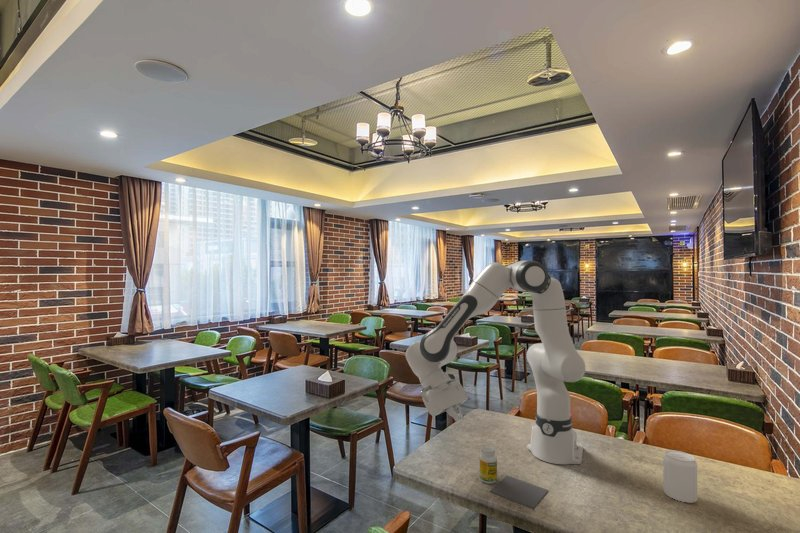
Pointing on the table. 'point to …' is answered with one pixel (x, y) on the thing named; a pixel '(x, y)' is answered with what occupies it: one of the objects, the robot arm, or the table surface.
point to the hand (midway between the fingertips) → (460, 419)
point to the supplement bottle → (488, 465)
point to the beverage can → (680, 476)
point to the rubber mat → (519, 491)
